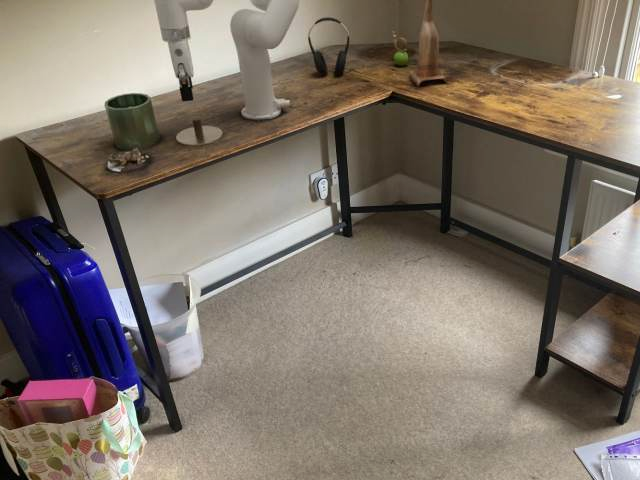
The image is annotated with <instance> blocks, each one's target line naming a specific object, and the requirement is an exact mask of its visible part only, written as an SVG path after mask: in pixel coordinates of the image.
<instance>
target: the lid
mask: <svg viewBox="0 0 640 480" xmlns="http://www.w3.org/2000/svg"><path fill="white" fill-rule="evenodd" d="M191 121H192V127H189V128H188V127H187V128H185V129H183V130H181V131H180V132H178V133H177V134H176V137H175V138H176V139H175V140H176V142H177V143H178V144H180V145H183V146H188V147H198V146H199V147H200V146H207V145H210V144H212V143H216V142H217V141H219V140H221V138H222V137H223V136H224V135H223V134H224V133H223V130H222V129H221V128H219V127H217V126H214V125H213V126H212V125H202V120H201V117H193V118H191Z"/></svg>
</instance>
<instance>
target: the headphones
mask: <svg viewBox="0 0 640 480" xmlns="http://www.w3.org/2000/svg"><path fill="white" fill-rule="evenodd" d="M330 21H331V22H336V23H337V24H340V25H341V27H343V28H344V29H345V31H346V33H347V39H346V45H345V48H344V50H339V51H338V54H337V58H336V62H335V66H334V74H335V75H338V76H340V75H343V73H344V72H345V70H346V66H347V63H348V50H349V47H350V46H349V45H350V33H349V30H348V29H347V27H346V26H345V25H344V24H343V23H342V22H341V20H339V19H337V18H335V17H329V16H328V17H322V18H320V19H317V20H316V21H315V22H314V23H313V25H312V26H311V27H310V29H309V31H308V34H307V39H308V41H307V42H308V45H309V48H310V51H311V53H312V62H313V65H314V68H315V70H316V72H317V73H318V75H320V76H326V75H327V74H328V66H327V62H326V59H325V57H324V55H323V53H322V51H320V50H317V51H316V50H315V48H314V46H313V43H312V41H311V37H310V36H311V32H312V30H313V28H314V26H316V25H318V24H319V23H322V22H330Z"/></svg>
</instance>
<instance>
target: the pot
mask: <svg viewBox="0 0 640 480" xmlns="http://www.w3.org/2000/svg"><path fill="white" fill-rule="evenodd" d="M103 106H104V109H105V112H106V116H107V119H108V123H109V126H110V130H111V134H112V137H113V140H114V145H115V146H116V147H117V148H118V149H120V150H122V151H124V150H133V149H135V148H138V149H144V148H147V147H150V146H152V145H154V144H156V143H157V142H158V141H159V140H160V139H161V137H160V135H161V134H160V131H159V127H158V123H157V119H156V114H155V110H154V106H153V101H152V98H151V97H150V96H149V95H148V94H146V93H141V92H140V93H139V92H131V93H130V92H129V93H123V94H117V95H115V96H113V97H109V98H108V99H107V100H106V101H104V105H103ZM129 107H131V108H129Z"/></svg>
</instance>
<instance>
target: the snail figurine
mask: <svg viewBox="0 0 640 480" xmlns="http://www.w3.org/2000/svg"><path fill="white" fill-rule="evenodd" d="M391 33H392V40H393V41H392V42H393V45H394V48H395V49H396V50H397V51H396V52H395V54H394V55H393V61H394V63H395V65H396V66H399V67H403V66H405V65H407V63H408V62H409V55H408V53H407V52H406V51H407V50H408V49H407V47H408V45H407V44H408V43H407V40H406V39H405V38H404V37H398V38H397V35H396V34H395V30H394V31H391Z"/></svg>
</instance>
